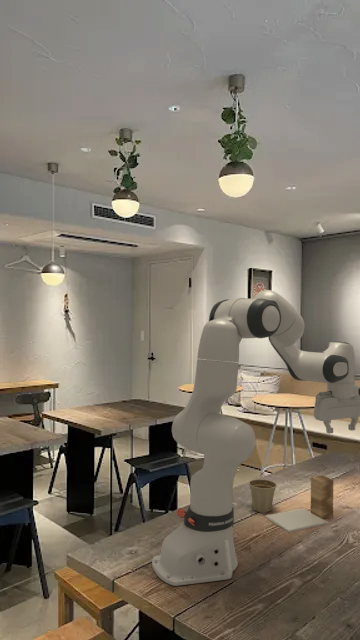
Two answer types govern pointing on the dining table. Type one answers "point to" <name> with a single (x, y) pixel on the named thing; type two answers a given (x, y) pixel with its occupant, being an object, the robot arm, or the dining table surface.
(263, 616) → the dining table surface
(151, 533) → the dining table surface
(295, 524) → the white board
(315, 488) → the oak block
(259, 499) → the flower pot
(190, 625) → the dining table surface
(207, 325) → the robot arm
